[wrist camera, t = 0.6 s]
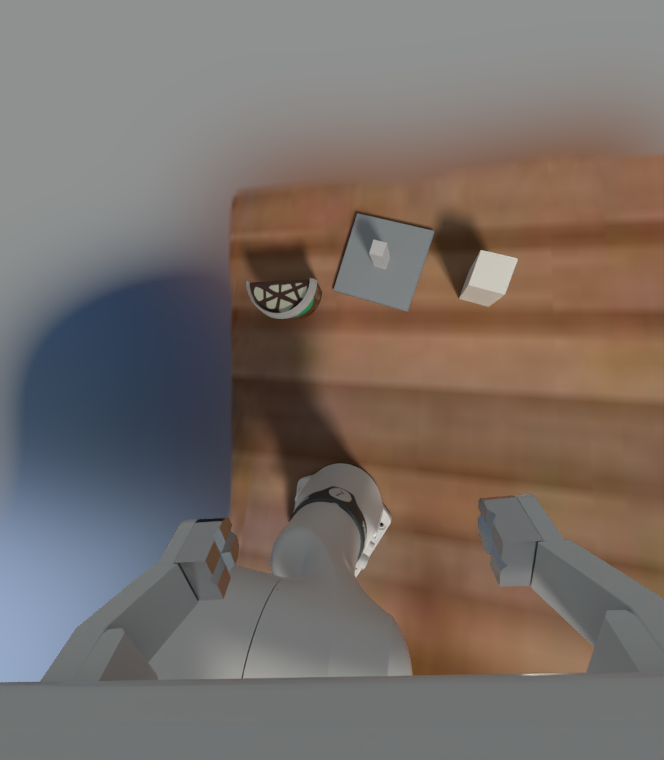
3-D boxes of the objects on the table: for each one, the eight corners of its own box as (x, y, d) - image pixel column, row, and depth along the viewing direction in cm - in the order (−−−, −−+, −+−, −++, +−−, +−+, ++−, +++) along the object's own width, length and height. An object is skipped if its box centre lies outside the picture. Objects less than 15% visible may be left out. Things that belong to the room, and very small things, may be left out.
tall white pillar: (488, 306, 55) (504, 294, 46) (458, 298, 56) (468, 285, 47) (499, 277, 55) (518, 258, 45) (469, 269, 56) (480, 249, 46)
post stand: (407, 312, 58) (406, 304, 51) (334, 291, 61) (323, 280, 54) (434, 233, 57) (437, 212, 49) (358, 215, 60) (349, 193, 52)
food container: (268, 324, 65) (242, 317, 55) (268, 293, 65) (243, 280, 55) (328, 324, 62) (313, 316, 52) (329, 291, 62) (313, 277, 52)
